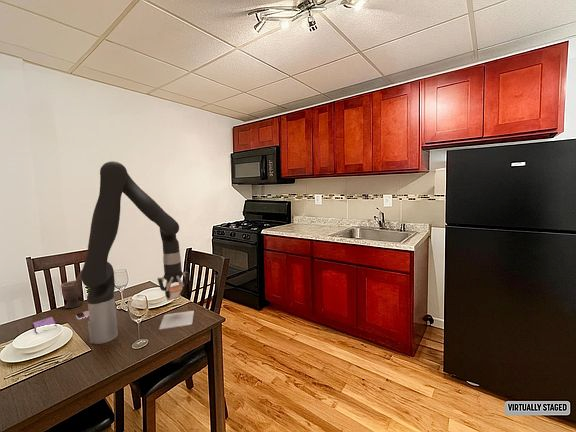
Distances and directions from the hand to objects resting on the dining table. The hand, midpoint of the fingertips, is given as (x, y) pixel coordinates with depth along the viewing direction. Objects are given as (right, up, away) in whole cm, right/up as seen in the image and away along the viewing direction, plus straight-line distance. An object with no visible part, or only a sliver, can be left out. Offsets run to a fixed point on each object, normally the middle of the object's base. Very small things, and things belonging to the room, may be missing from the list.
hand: (175, 295), depth 128 cm
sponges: (-60, -14, -2) cm, 62 cm away
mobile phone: (-47, -12, +11) cm, 50 cm away
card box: (-3, -1, +3) cm, 5 cm away
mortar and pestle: (-62, -11, +20) cm, 66 cm away
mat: (+1, -12, +1) cm, 12 cm away
